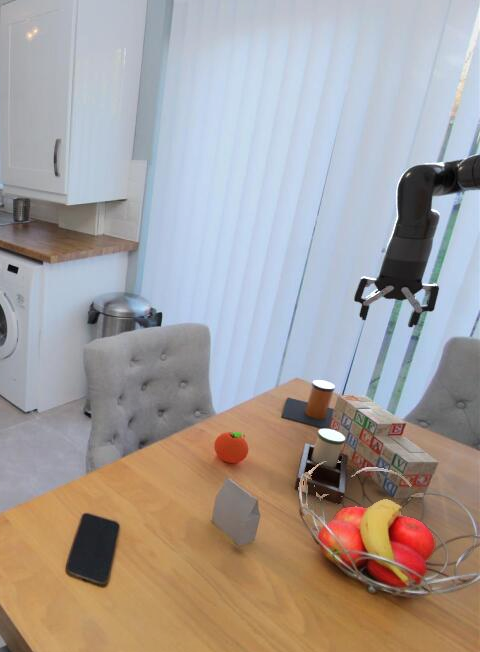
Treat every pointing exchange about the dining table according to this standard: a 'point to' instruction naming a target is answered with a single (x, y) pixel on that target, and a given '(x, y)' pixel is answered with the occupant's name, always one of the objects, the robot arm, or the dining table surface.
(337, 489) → the rack
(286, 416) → the mat
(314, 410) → the amber jar
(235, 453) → the red tomato
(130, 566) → the dining table surface
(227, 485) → the grey paper bag
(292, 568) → the dining table surface
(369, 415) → the stack of blocks
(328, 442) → the beige jar
